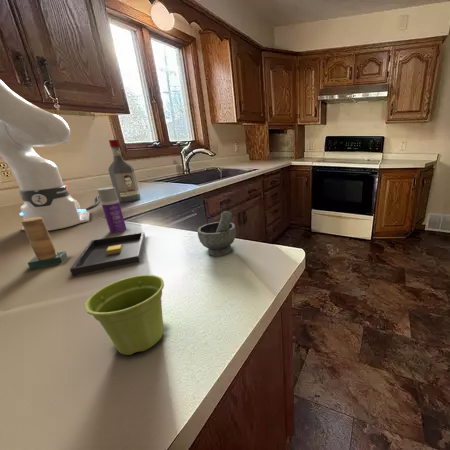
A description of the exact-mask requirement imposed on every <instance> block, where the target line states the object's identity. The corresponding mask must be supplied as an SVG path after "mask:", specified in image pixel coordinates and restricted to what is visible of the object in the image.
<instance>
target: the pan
mask: <svg viewBox="0 0 450 450" xmlns="http://www.w3.org/2000/svg"><path fill="white" fill-rule="evenodd" d="M145 239H146V234H145V232H144V231H141V232H134V233H129V234H124V235H117V236H110V237H104V238H98V239H97V238H96V239H92V240H90V242H89V243H88V244H87V245H86V247H85V248H84V250H83V251H82V253H80V255H79V257H78V258H77V259H76V260H75V262H74V263H73V265H71V267H70V268H69V270H70V273H71V276H77V275H82V274H87V273H93V272H97V271H102V270H106V269H112V268H117V267H120V266H121V267H122V266H126V265H131V264H136V263H140V262H141V259H142V254H143V248H144V244H145ZM116 245H122V251H121V252H120V253H114V254H109V255H108V254H107V249H108V247H110V246H116Z"/></svg>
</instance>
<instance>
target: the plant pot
mask: <svg viewBox="0 0 450 450" xmlns="http://www.w3.org/2000/svg"><path fill="white" fill-rule="evenodd" d="M164 287H165V281H164V279H163V278H162V277H161V276H158V275H154V274H141V275H134V276H130V277H126V278H122V279H119V280H116V281H114V282H112V283H110V284H107V285H105V286H103V287H101V288H100V289H98V290H97V291H95V292H94V293H93V294H91V295H90V296H89V297H88V298H87V299H86V301H85V303H84V305H83V307H84V311H85V312H86V313H87V314H88V315H91V316H93V318H94V319H95V320H96V321H98V322H99V324H101V325H100V326H102V328H103V329H104V331H105V332H106V334H107V336H108V337H109V339H110V340H111V342H112V343H113V345H114V347H115V349H116V350H117V351H118V353H120V354H122V355H127V356H130V355H133V354H134V353H138V352H145V351H147V350H149V349H151V348H152V347H153V346H155V345H156V344H157V343H158V342H159V341H160V340H161V338H162V337H163V334H164V321H163V320H164V317H163V310H162V309H163V307H162V296H163V289H164Z"/></svg>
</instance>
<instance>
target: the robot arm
mask: <svg viewBox="0 0 450 450" xmlns="http://www.w3.org/2000/svg"><path fill="white" fill-rule="evenodd" d="M70 138H71V129H70V127H69V124H68V123H67V122H66V121H65V120H64V119H63V117H61V116H60V115H58V114H55V113H53V112H50V111H47V110H45V109H42V108H41V107H39V106H37V105H35V104H33V103H32V102H30V101H28V100H27V99H25V98H24V97H22V96H21V95H19V94H18V93H16V92H15V91H14V90H12V89H11V88H10V87H9V86H8V85H7V84H6V83H5V82H4V81H3V80H2V79H0V158H1V159H2V160H3V161H4V163H6V164H7V166H8V167H9V170H10V171H11V172H12V175H13V176H14V179H15V180H16V183H17V185H18V188H19V191H18V192H19V196H20V198H21V200H22V201H23V204H22V205H21V206H20V211H21V212H20V213H19V216H22V217H23V220H24V219H28V218H34V217H42V218H43V220H44V223H45V225H46V228H47V230H48V232H49V231H56V230H59V229H61V230H62V229H65V228H69V227H73V226H76V225H78V224H83V223H87V222H89V221H90V215H91V214H90V211H88V210H90V209H92V208H94V207H96V206H97V205H98V204H99V203H100V197H99V194H97V195H96V197H95V199H96V200H95V201H96V202H95V203H94V204H92V205H90V206H88V207H87V208H84V209H83V208H82V209H81V205H80V203H79V201H78V200H77V199H75V198H73V197H72V195H70V192H69V186H68V185H67V184H64V182H63V179H62V176H61V173H60V171H59V167H58V165H56V163H55V162H54V161H52V160H49V159H47V158H44V157H42V156H40V155H39V154H38V153H37V152H36V151H35V150H34V148H42V147H43V148H47V147H55V146H60V145H65V144H67V143H68V142H69V141H70ZM21 229H22V231H25V230H24V227H23V226H21Z"/></svg>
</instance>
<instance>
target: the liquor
mask: <svg viewBox="0 0 450 450" xmlns="http://www.w3.org/2000/svg"><path fill="white" fill-rule="evenodd" d="M108 143H109V147H110V148H111V152H112V157H113V161H112V162H111V164H110V165H109V167H108V174H109V177H110V178H109V179H110V181H111V185H112V187H114V188H115V191H116V194H117V197H118V200H119V203H131V202H134V201H139V200H141V194H140V190H139V185H138V181H137V177H136V173H135V169H134V167H133V166H132V165H131V164H129V163H128V162H127V161H126V160H125V159H124V158H123V155H122V151H121V147H120V142H119V140H118V139H109V140H108Z"/></svg>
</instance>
